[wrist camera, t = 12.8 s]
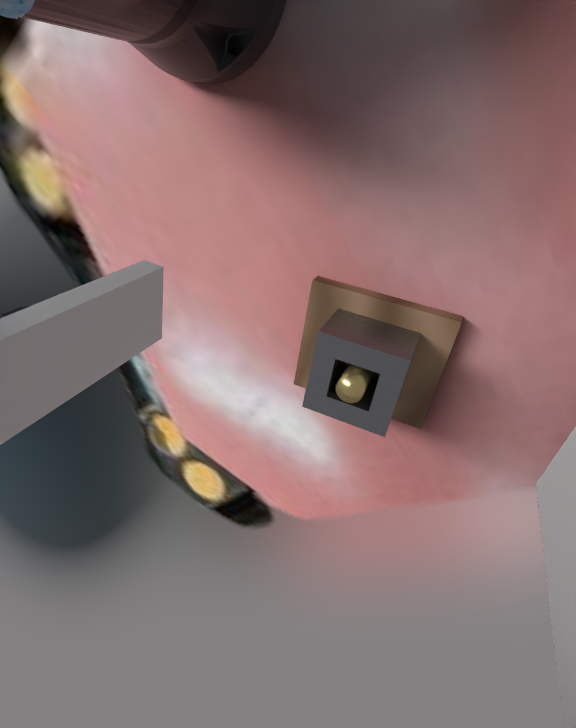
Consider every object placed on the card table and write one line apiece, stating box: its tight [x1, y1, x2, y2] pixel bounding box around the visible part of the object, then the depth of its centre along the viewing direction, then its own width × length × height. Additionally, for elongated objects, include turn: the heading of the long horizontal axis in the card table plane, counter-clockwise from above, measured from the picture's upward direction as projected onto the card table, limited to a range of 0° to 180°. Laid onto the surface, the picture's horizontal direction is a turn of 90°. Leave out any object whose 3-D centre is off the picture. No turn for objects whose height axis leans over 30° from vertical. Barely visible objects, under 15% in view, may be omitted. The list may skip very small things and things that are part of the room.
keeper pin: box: [336, 364, 374, 403], centre depth 41 cm, size 2×2×7 cm
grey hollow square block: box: [302, 308, 421, 437], centre depth 41 cm, size 8×8×6 cm
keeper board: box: [294, 276, 463, 429], centre depth 44 cm, size 14×12×2 cm
